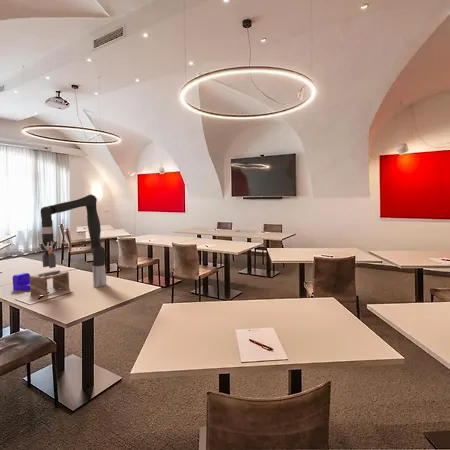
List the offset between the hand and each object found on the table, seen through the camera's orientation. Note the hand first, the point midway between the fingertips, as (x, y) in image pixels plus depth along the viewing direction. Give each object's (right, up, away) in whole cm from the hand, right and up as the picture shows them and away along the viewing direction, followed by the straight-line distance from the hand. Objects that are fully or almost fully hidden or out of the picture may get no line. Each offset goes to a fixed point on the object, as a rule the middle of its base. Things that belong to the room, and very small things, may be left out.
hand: (48, 255), depth 222 cm
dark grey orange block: (0, -9, +1) cm, 9 cm away
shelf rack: (0, -28, +2) cm, 29 cm away
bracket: (-22, -28, +10) cm, 37 cm away
